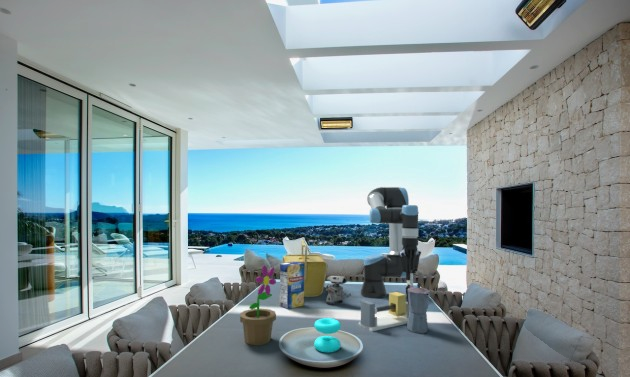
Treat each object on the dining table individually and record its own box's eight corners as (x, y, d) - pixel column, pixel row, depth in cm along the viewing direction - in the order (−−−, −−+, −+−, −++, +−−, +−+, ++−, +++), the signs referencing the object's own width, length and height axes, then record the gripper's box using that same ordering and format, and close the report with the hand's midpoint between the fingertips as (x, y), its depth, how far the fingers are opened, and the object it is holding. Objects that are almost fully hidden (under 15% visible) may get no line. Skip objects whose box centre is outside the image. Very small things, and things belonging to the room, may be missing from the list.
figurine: (339, 308, 185) (339, 279, 186) (323, 303, 194) (324, 275, 194) (351, 304, 192) (351, 276, 192) (335, 300, 200) (335, 273, 201)
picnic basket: (281, 286, 232) (282, 239, 233) (321, 285, 235) (321, 239, 236) (282, 298, 203) (283, 245, 204) (327, 297, 206) (328, 245, 207)
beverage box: (279, 306, 188) (280, 263, 188) (296, 302, 195) (296, 261, 196) (287, 309, 183) (287, 265, 183) (303, 305, 190) (304, 263, 190)
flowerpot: (259, 350, 132) (260, 268, 133) (231, 341, 140) (232, 264, 141) (282, 338, 144) (284, 263, 145) (255, 330, 152) (257, 259, 153)
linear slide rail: (401, 316, 174) (401, 293, 174) (415, 321, 166) (415, 297, 166) (358, 324, 161) (358, 300, 161) (371, 331, 153) (371, 305, 153)
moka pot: (421, 337, 147) (421, 288, 148) (396, 325, 161) (396, 280, 161) (438, 333, 151) (438, 285, 152) (412, 322, 165) (412, 278, 166)
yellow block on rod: (396, 311, 170) (396, 291, 171) (405, 315, 165) (405, 294, 166) (388, 313, 168) (389, 293, 168) (397, 316, 163) (397, 296, 163)
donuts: (311, 318, 138) (335, 316, 141) (310, 344, 138) (335, 341, 141) (318, 327, 129) (344, 324, 132) (318, 355, 129) (344, 352, 131)
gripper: (413, 236, 178) (413, 284, 177) (394, 237, 172) (394, 286, 170) (425, 237, 172) (425, 287, 171) (405, 238, 165) (405, 290, 164)
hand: (409, 286), depth 171 cm, fingers closed
